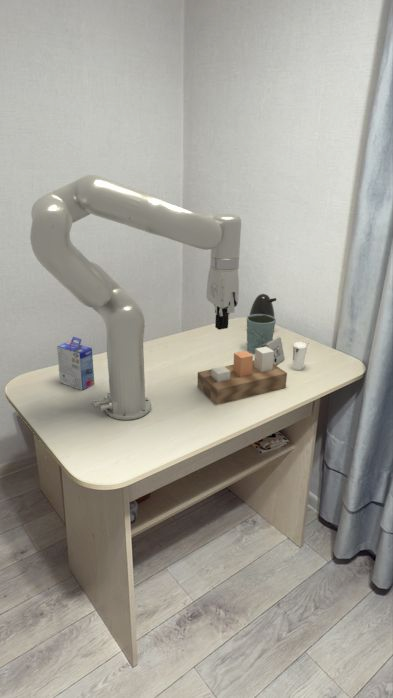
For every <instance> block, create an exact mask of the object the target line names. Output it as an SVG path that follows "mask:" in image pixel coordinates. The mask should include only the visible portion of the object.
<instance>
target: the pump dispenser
mask: <svg viewBox="0 0 393 698" xmlns="http://www.w3.org/2000/svg"><path fill="white" fill-rule="evenodd" d="M276 301H277V297H276V298H275V297H274V298H270V296H269V295H268V294H265V293H260V294H258V295H257V296H256V298H255V299H254V300H253V303H252V305H251V307H250V311H249V315H253V314H265V315H270V316H273V317H274V318H275V319H276V316H275V310H274V309H275V308H274V305H273V302H276Z"/></svg>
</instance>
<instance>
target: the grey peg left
mask: <svg viewBox="0 0 393 698" xmlns="http://www.w3.org/2000/svg"><path fill="white" fill-rule="evenodd" d="M211 369H212V371H211V377H212V378H213V379H214V380H215V381H217V382H221V381H226V380H230V371H229V370H228V369H227V368H225V367H224V365H222V366H221V365H220V366H218V367H217V366H216V367H212V368H211Z"/></svg>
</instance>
